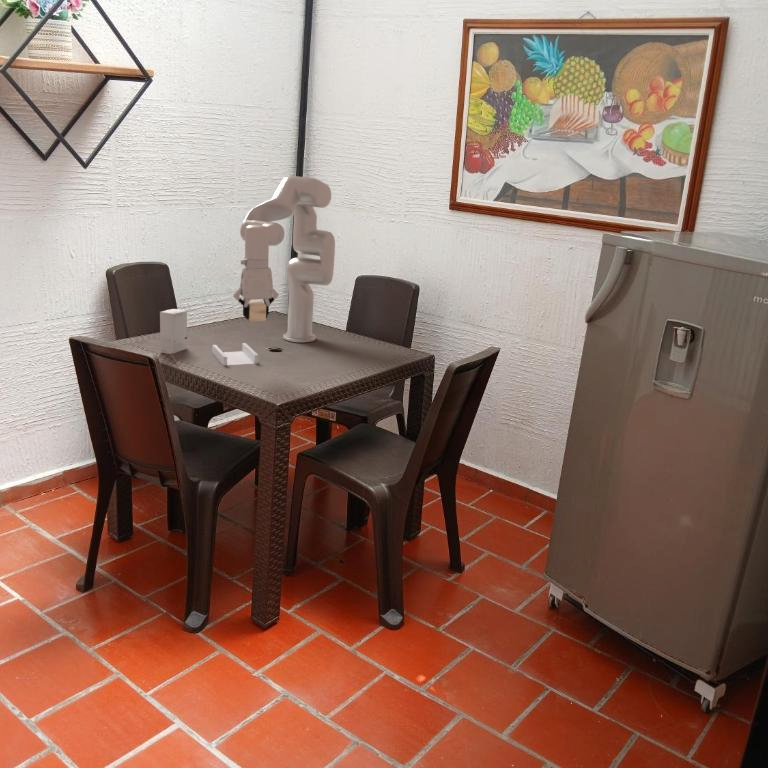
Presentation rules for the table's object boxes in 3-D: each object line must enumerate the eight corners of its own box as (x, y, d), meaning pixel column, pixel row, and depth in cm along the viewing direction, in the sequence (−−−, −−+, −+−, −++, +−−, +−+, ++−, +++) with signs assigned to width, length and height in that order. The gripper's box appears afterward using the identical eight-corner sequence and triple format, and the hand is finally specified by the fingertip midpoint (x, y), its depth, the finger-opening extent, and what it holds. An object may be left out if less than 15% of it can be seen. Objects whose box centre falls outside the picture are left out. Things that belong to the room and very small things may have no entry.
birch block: (244, 317, 269) (244, 301, 267) (260, 316, 271) (260, 300, 269) (249, 321, 264) (250, 305, 262) (265, 320, 267) (266, 304, 265)
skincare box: (173, 355, 281) (173, 314, 276) (159, 352, 283) (158, 311, 278) (188, 350, 288) (188, 309, 283) (174, 347, 290) (173, 307, 286)
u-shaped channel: (212, 355, 285) (212, 344, 284) (245, 353, 290) (245, 343, 289) (223, 367, 272) (223, 356, 271) (257, 365, 277) (258, 354, 276)
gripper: (233, 266, 254) (233, 321, 260) (285, 265, 262) (284, 319, 268) (227, 261, 261) (227, 315, 267) (278, 260, 268) (277, 313, 274)
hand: (255, 317), depth 267 cm, fingers closed on birch block, 5 cm apart
